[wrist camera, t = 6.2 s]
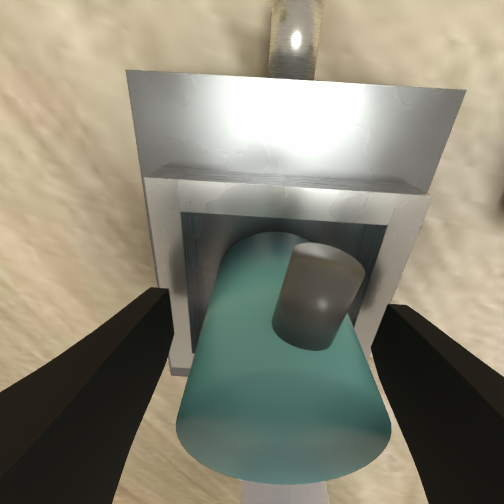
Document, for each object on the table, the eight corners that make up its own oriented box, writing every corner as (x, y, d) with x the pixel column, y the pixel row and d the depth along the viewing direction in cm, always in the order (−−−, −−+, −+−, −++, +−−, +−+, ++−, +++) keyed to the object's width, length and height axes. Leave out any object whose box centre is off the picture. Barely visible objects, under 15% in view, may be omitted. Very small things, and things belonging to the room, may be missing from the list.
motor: (336, 339, 17) (360, 417, 13) (187, 328, 18) (161, 402, 13) (431, 17, 10) (572, -58, 5) (157, 2, 10) (69, -85, 5)
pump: (311, 331, 13) (344, 494, 7) (211, 314, 12) (172, 471, 7) (364, 202, 9) (491, 327, 4) (231, 176, 9) (187, 274, 4)
